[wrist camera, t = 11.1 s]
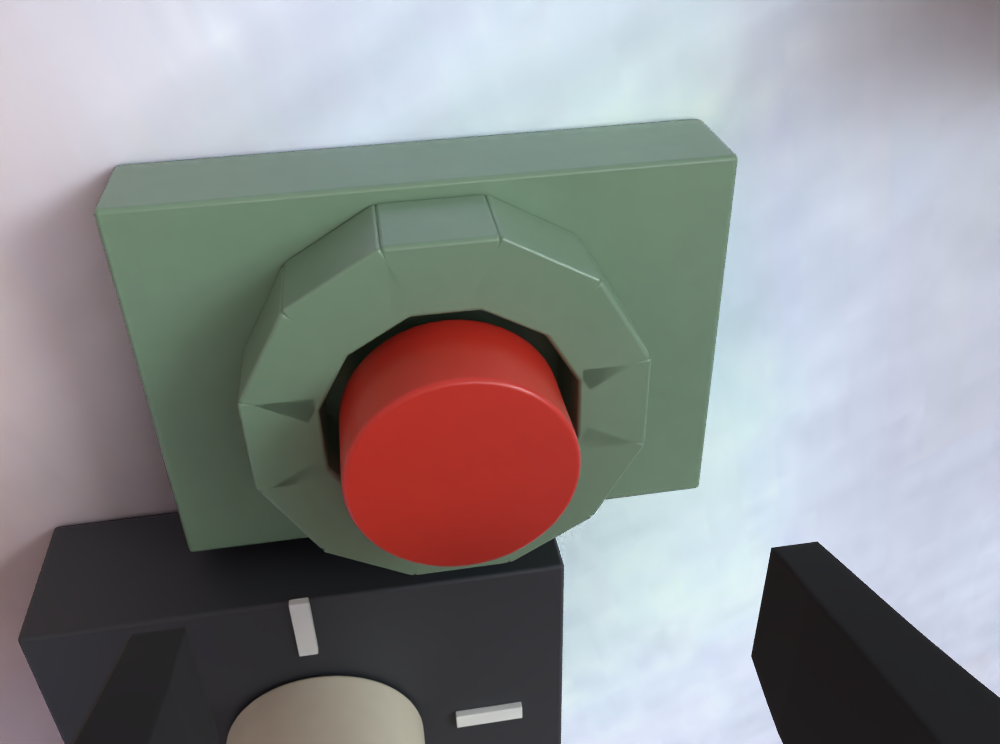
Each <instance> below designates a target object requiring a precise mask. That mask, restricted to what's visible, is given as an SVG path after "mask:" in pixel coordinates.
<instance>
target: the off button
mask: <svg viewBox="0 0 1000 744" xmlns="http://www.w3.org/2000/svg"><path fill="white" fill-rule="evenodd" d="M339 439H340V469H341V489H342V495H343V500H344V504H345V506H346V508H347V511H348V513H349V515H350V517H351V518H352V520H353V521H354V523H355V525H356V526H357V527H358V528H359V530H360V531H361V532H362V533H363V534H364V535H365V536H366V537H367V538H368V539H369V540H370V541H371V542H373V543H374V544H375V545H376V546H378V547H380V548H381V549H383V550H384V551H386V552H388V553H390V554H392V555H394V556H396V557H398V558H401V559H404V560H407V561H410V562H414V563H418V564H423V565H429V566H439V567H458V566H469V565H474V564H480V563H485V562H488V561H492V560H495V559H498V558H501V557H504V556H506V555H509V554H511V553H513V552H515V551H517V550H519V549H521V548H523V547H525V546H526V545H528V544H530V543H531V542H533V541H534V540H536V539H537V538H538V537H540V536H541V535H542V534H543V533H545V532H546V531H547V530H548V529H549V528H550V527H551V526H552V525H553V524H554V523H555V522H556V521H557V520H558V519H559V517H560V516H561V515H562V514H563V512H564V511H565V509H566V508H567V506H568V504H569V503H570V501H571V499H572V497H573V494H574V492H575V490H576V486H577V483H578V479H579V475H580V467H581V454H580V447H579V443H578V438H577V436H576V433H575V430H574V428H573V425H572V422H571V420H570V417H569V414H568V412H567V409H566V406H565V404H564V401H563V398H562V396H561V393H560V390H559V388H558V385H557V382H556V380H555V377H554V375H553V372H552V370H551V368H550V367H549V365H548V363H547V362H546V360H545V359H544V357H543V356H542V355H541V354H540V353H539V352H538V350H537V349H536V348H534V347H533V346H532V345H531V344H530V343H529V342H527V341H526V340H524V339H523V338H521V337H520V336H518V335H517V334H515V333H513V332H511V331H509V330H506V329H504V328H502V327H499V326H496V325H493V324H490V323H486V322H480V321H475V320H462V319H455V320H441V321H435V322H429V323H425V324H422V325H418V326H414V327H412V328H410V329H407V330H405V331H402V332H400V333H398V334H396V335H394V336H393V337H391V338H389V339H387V340H386V341H384V342H383V343H382V344H380V345H379V346H377V347H376V348H375V349H374V350H373V351H372V352H371V353H370V354H368V355H367V356H366V357H365V358H364V359H363V361H362V362H361V363H360V364H359V365H358V367H357V368H356V369H355V371H354V372H353V374H352V375H351V377H350V379H349V380H348V382H347V385H346V387H345V389H344V392H343V395H342V399H341V403H340V409H339Z"/></svg>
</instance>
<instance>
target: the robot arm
mask: <svg viewBox="0 0 1000 744" xmlns="http://www.w3.org/2000/svg"><path fill="white" fill-rule="evenodd" d="M751 657H752V660H753V663H754V666H755V669H756V672H757V675H758V678H759V681H760V683H761V686H762V689H763V692H764V695H765V698H766V701H767V704H768V707H769V709H770V712H771V715H772V717H773V720H774V723H775V726H776V728H777V731H778V734H779V736H780V738H781V740H782V742H783V744H1000V698H999V697H998V696H997V695H996V694H994V693H993V692H992V691H991V690H989V689H988V688H987V687H986V686H984V685H983V684H982V683H981V682H979V681H978V680H977V679H976V678H974V677H973V676H972V675H971V674H970V673H968V672H967V671H966V670H965V669H964V668H962V667H961V666H960V665H959V664H958V663H956V662H955V661H954V660H953V659H952V658H950V657H949V656H948V655H947V654H946V653H944V652H943V651H942V650H941V649H940V648H938V647H937V646H936V645H935V644H933V643H932V642H931V641H930V640H929V639H928V638H926V637H925V636H924V635H923V634H922V633H921V632H919V631H918V630H917V629H916V628H915V627H914V626H912V625H911V624H910V623H909V622H908V621H907V620H906V619H904V618H903V617H902V616H901V615H900V614H899V613H898V612H896V611H895V610H894V609H893V608H892V607H891V606H890V605H888V604H887V603H886V602H885V601H884V600H883V599H882V598H881V597H879V596H878V595H877V594H876V593H875V592H874V591H873V590H872V589H870V588H869V587H868V586H867V585H866V584H865V583H864V582H863V581H861V580H860V579H859V578H858V577H857V576H856V575H855V574H854V573H852V572H851V571H850V570H849V569H848V568H847V567H846V566H845V565H843V564H842V563H841V562H840V561H839V560H838V559H837V558H835V557H834V556H833V555H832V554H831V553H830V552H829V551H827V550H826V549H825V548H824V547H823V546H822V545H821V544H820V543H818V542H811V543H804V544H796V545H789V546H781V547H774V548H771V553H770V558H769V564H768V569H767V574H766V580H765V585H764V590H763V596H762V601H761V607H760V612H759V617H758V623H757V628H756V633H755V639H754V644H753V650H752V655H751ZM218 736H219V735H218V732H217V729H216V725H215V722H214V719H213V715H212V712H211V709H210V706H209V702H208V699H207V696H206V692H205V689H204V686H203V683H202V679H201V676H200V673H199V669H198V666H197V663H196V660H195V656H194V653H193V650H192V646H191V643H190V640H189V637H188V633H187V630H186V627H180V628H173V629H165V630H158V631H150V632H143V633H136V634H132V635H131V636H130V637H129V638H128V639H127V640H126V641H125V642H124V644H123V646H122V648H121V650H120V652H119V654H118V656H117V658H116V660H115V662H114V664H113V666H112V668H111V670H110V672H109V674H108V675H107V677H106V679H105V681H104V683H103V685H102V687H101V689H100V691H99V693H98V695H97V696H96V698H95V700H94V702H93V704H92V706H91V708H90V709H89V711H88V713H87V715H86V717H85V719H84V720H83V722H82V724H81V726H80V728H79V729H78V731H77V733H76V735H75V736H74V738H73V740H72V742H71V744H218Z"/></svg>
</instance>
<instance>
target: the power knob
mask: <svg viewBox="0 0 1000 744" xmlns="http://www.w3.org/2000/svg"><path fill="white" fill-rule="evenodd" d="M226 744H425V739H424V729H423V723H422V720H421V717H420V715H419V713H418V711H417V709H416V708H415V706H414V705H413V704H412V703H411V701H410V700H409V699H407V698H406V697H405V696H404V695H403V694H401V693H400V692H398V691H397V690H396V689H394V688H392V687H390V686H388V685H385V684H383V683H380V682H377V681H374V680H370V679H366V678H361V677H354V676H339V675H336V676H319V677H311V678H306V679H302V680H297V681H294V682H290V683H287V684H284V685H282V686H279V687H277V688H274V689H272V690H270V691H268V692H267V693H265V694H263V695H261V696H260V697H258V698H257V699H255V700H254V701H252V702H251V703H250V704H249V705H248V706H247V707H246V708H244V710H243V711H242V712H241V713H240V714H239V715H238V717H237V718H236V720H235V721H234V723H233V725H232V726H231V728H230V731H229V733H228V737H227V742H226Z"/></svg>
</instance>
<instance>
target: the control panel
mask: <svg viewBox="0 0 1000 744" xmlns="http://www.w3.org/2000/svg"><path fill="white" fill-rule="evenodd" d="M563 589H564V565H563V561H562V558H561V555H560V551H559V548H558V545H557V541H556V538H553V539H551V540H550V541H548V542H546V543H544V544H542V545H541V546H539V547H537V548H535V549H534V550H532V551H530V552H528V553H526V554H525V555H523V556H521V557H519V558H518V559H516V560H514V561H512V562H510V561H508V562H507V563H502V564H495V565H487V566H480V567H473V568H465V569H458V570H450V571H443V572H435V573H428V574H420V575H416V574H414V575H409V574H405V573H401V572H397V571H394V570H390V569H386V568H382V567H379V566H375V565H371V564H367V563H364V562H360V561H356V560H352V559H349V558H345V557H341V556H337V555H334V554H330V553H326V552H324V551H323V549H322V548H320V547H319V546H318V545H317V544H316V543H314V542H313V541H312V540H311V539H310V538H309V537H307V538H299V539H292V540H284V541H276V542H268V543H260V544H252V545H245V546H237V547H229V548H221V549H213V550H205V551H198V552H191V551H190V550H189V547H188V544H187V540H186V537H185V533H184V530H183V526H182V523H181V519H180V516H179V513H171V514H163V515H155V516H147V517H138V518H130V519H122V520H114V521H106V522H98V523H89V524H81V525H73V526H65V527H58V528H56V529H55V530H54V532H53V535H52V538H51V541H50V544H49V547H48V550H47V553H46V556H45V559H44V562H43V565H42V568H41V571H40V574H39V577H38V580H37V583H36V586H35V589H34V592H33V595H32V599H31V602H30V605H29V608H28V611H27V614H26V617H25V620H24V623H23V626H22V629H21V632H20V635H19V638H18V641H19V644H20V646H21V648H22V651H23V653H24V655H25V657H26V659H27V662H28V664H29V666H30V668H31V670H32V673H33V675H34V677H35V679H36V681H37V684H38V686H39V688H40V690H41V692H42V695H43V697H44V699H45V701H46V703H47V706H48V708H49V710H50V712H51V714H52V717H53V719H54V721H55V723H56V725H57V728H58V730H59V732H60V734H61V736H62V739H63V741H64V743H65V744H71V742H72V740H73V738H74V736H75V735H76V733H77V731H78V729H79V728H80V726H81V724H82V722H83V720H84V719H85V717H86V715H87V713H88V711H89V709H90V708H91V706H92V704H93V702H94V700H95V698H96V696H97V695H98V693H99V691H100V689H101V687H102V685H103V683H104V681H105V679H106V677H107V675H108V674H109V672H110V670H111V668H112V666H113V664H114V662H115V660H116V658H117V656H118V654H119V652H120V650H121V648H122V646H123V644H124V642H125V641H126V640H127V639H128V638H129V637H130V636H131V635H132V634H136V633H143V632H150V631H158V630H165V629H173V628H180V627H186V630H187V633H188V637H189V640H190V643H191V646H192V650H193V653H194V656H195V660H196V663H197V666H198V669H199V673H200V676H201V679H202V683H203V686H204V689H205V692H206V696H207V699H208V702H209V706H210V709H211V712H212V715H213V719H214V722H215V725H216V729H217V732H218V735H219V736H218V744H226V742H227V737H228V733H229V731H230V728H231V726H232V725H233V723H234V721H235V720H236V718H237V717H238V715H239V714H240V713H241V712H242V711H243V710H244V708H246V707H247V706H248V705H249V704H250V703H251V702H252V701H254V700H255V699H257V698H258V697H260V696H261V695H263V694H265V693H267V692H268V691H270V690H272V689H274V688H277V687H279V686H282V685H284V684H287V683H290V682H294V681H297V680H302V679H306V678H311V677H319V676H336V675H339V676H354V677H361V678H366V679H370V680H374V681H377V682H380V683H383V684H385V685H388V686H390V687H392V688H394V689H396V690H397V691H398V692H400V693H401V694H403V695H404V696H405V697H406V698H407V699H409V700H410V701H411V703H412V704H413V705H414V706H415V708H416V709H417V711H418V713H419V715H420V717H421V720H422V723H423V729H424V739H425V744H561V703H562V646H563Z"/></svg>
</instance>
